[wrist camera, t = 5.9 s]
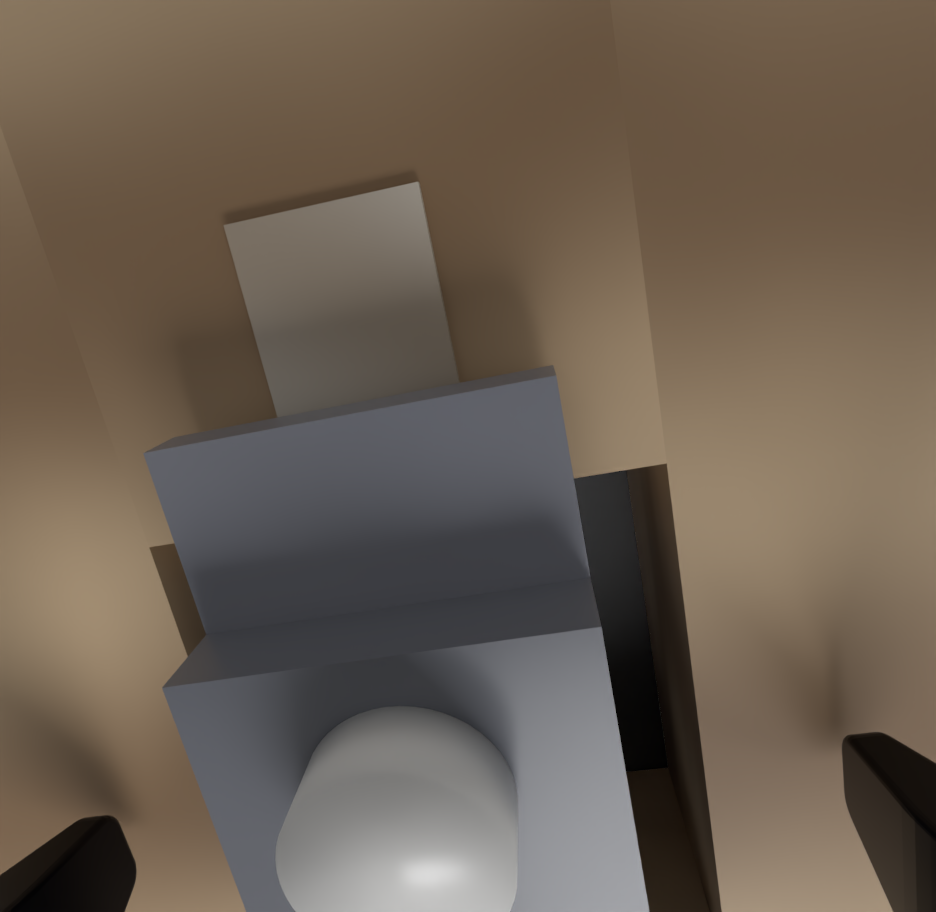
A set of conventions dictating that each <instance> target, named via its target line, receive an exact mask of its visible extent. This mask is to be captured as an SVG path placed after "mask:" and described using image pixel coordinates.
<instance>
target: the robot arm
mask: <svg viewBox="0 0 936 912" xmlns="http://www.w3.org/2000/svg"><path fill="white" fill-rule="evenodd" d="M842 762H843V780H844V795H845V801H846V805H847V808H848V811H849V814H850V817H851V819H852V821H853V824H854V826H855V828H856V830H857V833H858V835H859V837H860V839H861V841H862V844H863V846H864V848H865V850H866V853H867V855H868V857H869V859H870V861H871V864H872V866H873V868H874V870H875V873H876V875H877V877H878V879H879V881H880V884H881V886H882V888H883V890H884V893H885V895H886V897H887V899H888V901H889V904H890V906H891V908H892V910H893V912H936V763H935V762H933V761H932V760H930V759H928V758H926V757H925V756H923V755H921V754H920V753H918V752H916V751H915V750H913V749H911V748H910V747H908V746H906V745H904V744H903V743H901V742H899V741H898V740H896V739H894V738H893V737H891V736H889V735H887V734H885V733H882V732H869V733H860V734H850V735H847V736H846V737H845V738H844V739H843V742H842ZM136 874H137V868H136V862H135V859H134V857H133V854H132V852H131V849H130V847H129V845H128V842H127V840H126V837H125V835H124V833H123V830H122V828H121V825H120V823H119V821H118V820H117V819H116V818H115V817H113V816H110V815H103V816H93V817H86V818H82V819H80V820H78V821H76V822H74V823H73V824H72V825H70V826H69V827H67V828H66V829H64V830H63V831H62V832H60V833H59V834H57V835H56V836H55V837H53V838H52V839H50V840H49V841H48V842H46V843H45V844H43V845H42V846H40V847H39V848H38V849H36V850H35V851H33V852H32V853H31V854H29V855H28V856H26V857H25V858H23V859H22V860H21V861H19V862H18V863H16V864H15V865H14V866H12V867H11V868H9V869H8V870H7V871H5V872H4V873H2V874H1V875H0V912H125V910H126V907H127V905H128V902H129V899H130V896H131V894H132V891H133V888H134V885H135V881H136Z"/></svg>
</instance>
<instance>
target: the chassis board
mask: <svg viewBox="0 0 936 912" xmlns="http://www.w3.org/2000/svg"><path fill="white" fill-rule="evenodd" d="M551 365H553V366H554V370H555V373H556V377H557V382H558V388H559V394H560V400H561V406H562V412H563V418H564V424H565V430H566V436H567V441H568V447H569V453H570V459H571V465H572V471H573V477H574V478H580V477H586V476H592V475H598V474H605V473H611V472H617V471H623V470H626V471H627V478H628V485H629V493H630V500H631V507H632V514H633V521H634V528H635V535H636V543H637V550H638V557H639V564H640V571H641V578H642V585H643V593H644V600H645V607H646V614H647V621H648V628H649V635H650V643H651V650H652V657H653V664H654V671H655V678H656V685H657V693H658V700H659V707H660V714H661V721H662V728H663V735H664V743H665V750H666V757H667V764H668V768H659V769H650V770H640V771H631V772H626V775H627V781H628V787H629V793H630V799H631V805H632V811H633V817H634V823H635V829H636V835H637V841H638V846H639V852H640V858H641V864H642V870H643V876H644V882H645V888H646V894H647V900H648V906H649V912H893V910H892V908H891V906H890V904H889V901H888V899H887V897H886V895H885V893H884V890H883V888H882V886H881V884H880V881H879V879H878V877H877V875H876V873H875V870H874V868H873V866H872V864H871V861H870V859H869V857H868V855H867V853H866V850H865V848H864V846H863V844H862V841H861V839H860V837H859V835H858V833H857V830H856V828H855V826H854V824H853V821H852V819H851V817H850V814H849V811H848V808H847V805H846V801H845V795H844V780H843V762H842V742H843V739H844V738H845V737H846V736H847V735H850V734H860V733H869V732H882V733H885V734H887V735H889V736H891V737H893V738H894V739H896V740H898V741H899V742H901V743H903V744H904V745H906V746H908V747H910V748H911V749H913V750H915V751H916V752H918V753H920V754H921V755H923V756H925V757H926V758H928V759H930V760H932V761H933V762H935V763H936V0H0V875H1V874H2V873H4V872H5V871H7V870H8V869H9V868H11V867H12V866H14V865H15V864H16V863H18V862H19V861H21V860H22V859H23V858H25V857H26V856H28V855H29V854H31V853H32V852H33V851H35V850H36V849H38V848H39V847H40V846H42V845H43V844H45V843H46V842H48V841H49V840H50V839H52V838H53V837H55V836H56V835H57V834H59V833H60V832H62V831H63V830H64V829H66V828H67V827H69V826H70V825H72V824H73V823H74V822H76V821H78V820H80V819H82V818H86V817H93V816H103V815H110V816H113V817H115V818H116V819H117V820H118V821H119V823H120V825H121V828H122V830H123V833H124V835H125V837H126V840H127V842H128V845H129V847H130V849H131V852H132V854H133V857H134V859H135V862H136V868H137V874H136V881H135V885H134V888H133V891H132V894H131V896H130V899H129V902H128V905H127V907H126V910H125V912H246V910H245V907H244V904H243V902H242V899H241V897H240V894H239V891H238V889H237V886H236V883H235V881H234V878H233V875H232V873H231V870H230V867H229V865H228V862H227V859H226V857H225V854H224V851H223V849H222V846H221V843H220V841H219V838H218V836H217V833H216V830H215V828H214V825H213V822H212V820H211V817H210V814H209V812H208V809H207V806H206V804H205V801H204V798H203V796H202V793H201V790H200V788H199V785H198V782H197V780H196V777H195V774H194V772H193V769H192V767H191V764H190V761H189V759H188V756H187V753H186V751H185V748H184V745H183V743H182V740H181V737H180V735H179V732H178V729H177V727H176V724H175V721H174V719H173V716H172V713H171V711H170V708H169V706H168V703H167V700H166V698H165V695H164V692H163V690H162V687H163V686H164V685H165V684H166V682H167V681H168V680H169V679H170V678H171V676H172V675H173V674H174V673H175V672H176V670H177V669H178V668H179V667H180V666H181V664H182V663H183V662H184V661H185V660H186V658H187V657H188V656H189V655H190V654H191V652H192V651H193V650H194V649H195V648H196V646H197V645H198V644H199V643H200V642H201V640H202V639H203V638H204V637H205V636H206V633H205V630H204V627H203V624H202V621H201V618H200V615H199V612H198V610H197V607H196V604H195V601H194V598H193V595H192V592H191V589H190V587H189V584H188V581H187V578H186V575H185V572H184V569H183V566H182V564H181V561H180V558H179V555H178V552H177V549H176V546H175V543H174V541H173V538H172V535H171V532H170V529H169V526H168V523H167V520H166V518H165V515H164V512H163V509H162V506H161V503H160V500H159V497H158V495H157V492H156V489H155V486H154V483H153V480H152V477H151V474H150V472H149V469H148V466H147V463H146V460H145V457H144V454H143V453H144V452H146V451H148V450H150V449H152V448H154V447H156V446H158V445H160V444H162V443H164V442H166V441H168V440H170V439H172V438H174V437H178V436H183V435H188V434H194V433H199V432H204V431H209V430H215V429H220V428H225V427H230V426H236V425H241V424H246V423H251V422H257V421H262V420H267V419H272V418H278V417H283V416H288V415H293V414H299V413H304V412H309V411H314V410H320V409H325V408H330V407H335V406H341V405H346V404H351V403H356V402H362V401H367V400H372V399H377V398H383V397H388V396H393V395H398V394H404V393H409V392H414V391H419V390H425V389H430V388H435V387H440V386H446V385H451V384H456V383H461V382H467V381H472V380H477V379H482V378H488V377H493V376H498V375H503V374H509V373H514V372H519V371H524V370H530V369H535V368H540V367H545V366H551Z"/></svg>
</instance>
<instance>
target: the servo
mask: <svg viewBox="0 0 936 912" xmlns="http://www.w3.org/2000/svg"><path fill="white" fill-rule="evenodd" d="M143 454H144V457H145V460H146V463H147V466H148V469H149V472H150V474H151V477H152V480H153V483H154V486H155V489H156V492H157V495H158V497H159V500H160V503H161V506H162V509H163V512H164V515H165V518H166V520H167V523H168V526H169V529H170V532H171V535H172V538H173V541H174V543H175V546H176V549H177V552H178V555H179V558H180V561H181V564H182V566H183V569H184V572H185V575H186V578H187V581H188V584H189V587H190V589H191V592H192V595H193V598H194V601H195V604H196V607H197V610H198V612H199V615H200V618H201V621H202V624H203V627H204V630H205V633H206V636H205V637H204V638H203V639H202V640H201V642H200V643H199V644H198V645H197V646H196V648H195V649H194V650H193V651H192V652H191V654H190V655H189V656H188V657H187V658H186V660H185V661H184V662H183V663H182V664H181V666H180V667H179V668H178V669H177V670H176V672H175V673H174V674H173V675H172V676H171V678H170V679H169V680H168V681H167V682H166V684H165V685H164V686H163V687H162V690H163V692H164V695H165V698H166V700H167V703H168V706H169V708H170V711H171V713H172V716H173V719H174V721H175V724H176V727H177V729H178V732H179V735H180V737H181V740H182V743H183V745H184V748H185V751H186V753H187V756H188V759H189V761H190V764H191V767H192V769H193V772H194V774H195V777H196V780H197V782H198V785H199V788H200V790H201V793H202V796H203V798H204V801H205V804H206V806H207V809H208V812H209V814H210V817H211V820H212V822H213V825H214V828H215V830H216V833H217V836H218V838H219V841H220V843H221V846H222V849H223V851H224V854H225V857H226V859H227V862H228V865H229V867H230V870H231V873H232V875H233V878H234V881H235V883H236V886H237V889H238V891H239V894H240V897H241V899H242V902H243V904H244V907H245V910H246V912H649V906H648V900H647V894H646V888H645V882H644V876H643V870H642V864H641V858H640V852H639V846H638V841H637V835H636V829H635V823H634V817H633V811H632V805H631V799H630V793H629V787H628V781H627V775H626V769H625V763H624V757H623V752H622V746H621V740H620V734H619V728H618V722H617V716H616V710H615V704H614V698H613V692H612V686H611V680H610V674H609V668H608V662H607V657H606V651H605V645H604V639H603V633H602V627H601V622H600V618H599V613H598V609H597V604H596V600H595V595H594V591H593V586H592V582H591V577H590V571H589V565H588V559H587V553H586V547H585V542H584V536H583V530H582V524H581V518H580V512H579V506H578V500H577V494H576V489H575V483H574V477H573V471H572V465H571V459H570V453H569V447H568V441H567V436H566V430H565V424H564V418H563V412H562V406H561V400H560V394H559V388H558V382H557V377H556V373H555V370H554V366H553V365H551V366H545V367H540V368H535V369H530V370H524V371H519V372H514V373H509V374H503V375H498V376H493V377H488V378H482V379H477V380H472V381H467V382H461V383H456V384H451V385H446V386H440V387H435V388H430V389H425V390H419V391H414V392H409V393H404V394H398V395H393V396H388V397H383V398H377V399H372V400H367V401H362V402H356V403H351V404H346V405H341V406H335V407H330V408H325V409H320V410H314V411H309V412H304V413H299V414H293V415H288V416H283V417H278V418H272V419H267V420H262V421H257V422H251V423H246V424H241V425H236V426H230V427H225V428H220V429H215V430H209V431H204V432H199V433H194V434H188V435H183V436H178V437H174V438H172V439H170V440H168V441H166V442H164V443H162V444H160V445H158V446H156V447H154V448H152V449H150V450H148V451H146V452H144V453H143Z"/></svg>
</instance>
